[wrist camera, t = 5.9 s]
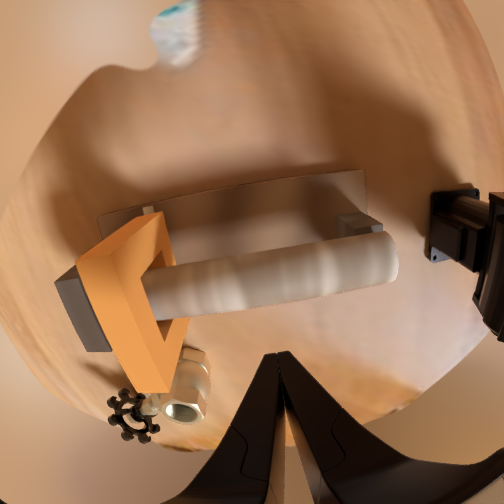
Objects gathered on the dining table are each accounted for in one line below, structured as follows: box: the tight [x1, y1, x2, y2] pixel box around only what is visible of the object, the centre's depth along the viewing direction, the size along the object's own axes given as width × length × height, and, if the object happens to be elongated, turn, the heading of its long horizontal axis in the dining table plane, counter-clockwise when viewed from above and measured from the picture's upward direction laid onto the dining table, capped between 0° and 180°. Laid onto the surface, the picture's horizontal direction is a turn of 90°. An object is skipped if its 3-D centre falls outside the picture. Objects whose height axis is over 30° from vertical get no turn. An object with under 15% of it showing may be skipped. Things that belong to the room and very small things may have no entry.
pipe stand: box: [54, 169, 399, 352], centre depth 17 cm, size 20×9×8 cm, turn 99°
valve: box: [107, 347, 211, 444], centre depth 23 cm, size 7×7×12 cm
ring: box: [75, 211, 190, 393], centre depth 15 cm, size 2×8×8 cm, turn 9°
